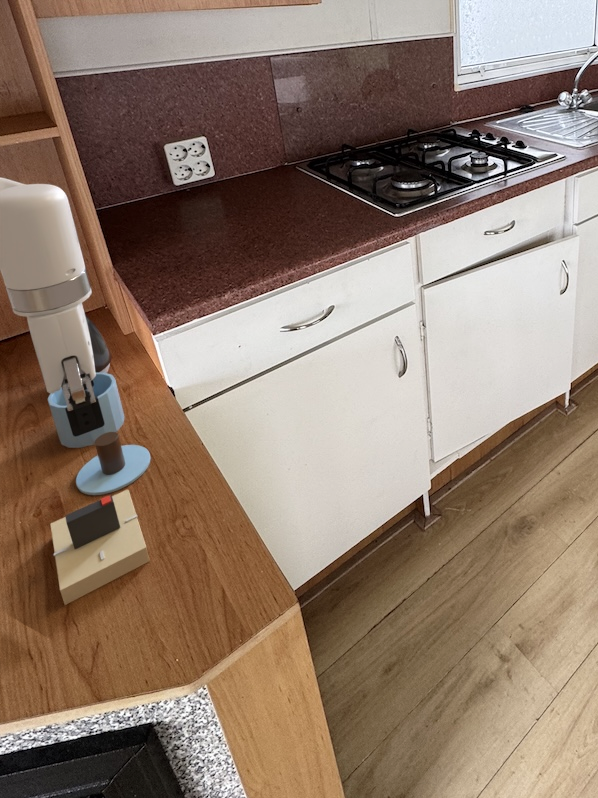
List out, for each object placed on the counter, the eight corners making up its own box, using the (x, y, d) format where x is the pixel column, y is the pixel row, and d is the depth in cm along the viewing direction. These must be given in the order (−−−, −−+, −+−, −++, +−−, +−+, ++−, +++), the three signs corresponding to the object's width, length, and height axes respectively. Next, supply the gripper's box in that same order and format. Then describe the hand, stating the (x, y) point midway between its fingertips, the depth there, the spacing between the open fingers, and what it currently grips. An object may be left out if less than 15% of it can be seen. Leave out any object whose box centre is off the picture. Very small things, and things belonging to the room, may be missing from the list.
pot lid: (62, 486, 86) (51, 451, 84) (122, 443, 95) (114, 410, 93) (107, 506, 83) (97, 470, 81) (165, 460, 92) (158, 426, 89)
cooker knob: (74, 549, 73) (66, 521, 72) (73, 541, 74) (64, 513, 73) (120, 528, 76) (113, 500, 75) (118, 520, 77) (111, 493, 76)
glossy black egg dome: (68, 407, 103) (47, 333, 97) (38, 388, 107) (17, 317, 102) (127, 377, 111) (111, 307, 106) (97, 360, 116) (80, 293, 111)
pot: (47, 441, 95) (34, 398, 92) (100, 407, 103) (90, 367, 100) (85, 456, 92) (73, 413, 89) (137, 420, 100) (127, 380, 97)
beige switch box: (54, 540, 78) (49, 523, 77) (133, 504, 84) (128, 487, 82) (64, 608, 69) (58, 590, 68) (151, 563, 75) (147, 545, 74)
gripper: (7, 272, 72) (43, 387, 77) (11, 331, 59) (53, 463, 65) (80, 256, 76) (108, 366, 82) (98, 308, 64) (130, 433, 69)
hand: (84, 409), depth 73 cm, fingers open, 9 cm apart
